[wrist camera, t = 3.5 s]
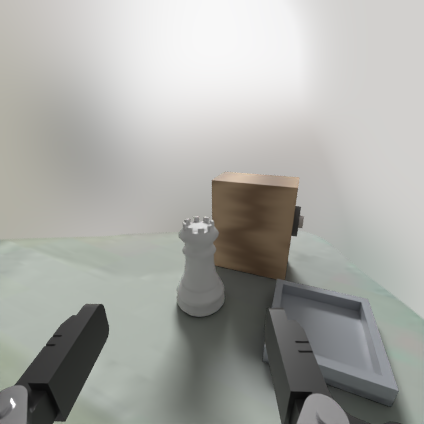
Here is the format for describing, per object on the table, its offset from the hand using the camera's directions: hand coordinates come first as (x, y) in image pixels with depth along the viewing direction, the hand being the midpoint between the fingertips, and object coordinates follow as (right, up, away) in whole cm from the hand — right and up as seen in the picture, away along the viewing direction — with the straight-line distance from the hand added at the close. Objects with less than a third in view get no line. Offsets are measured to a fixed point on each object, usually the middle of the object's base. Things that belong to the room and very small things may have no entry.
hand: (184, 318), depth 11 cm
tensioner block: (+6, -1, +15) cm, 16 cm away
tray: (+10, -4, +6) cm, 12 cm away
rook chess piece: (0, -3, +10) cm, 10 cm away
